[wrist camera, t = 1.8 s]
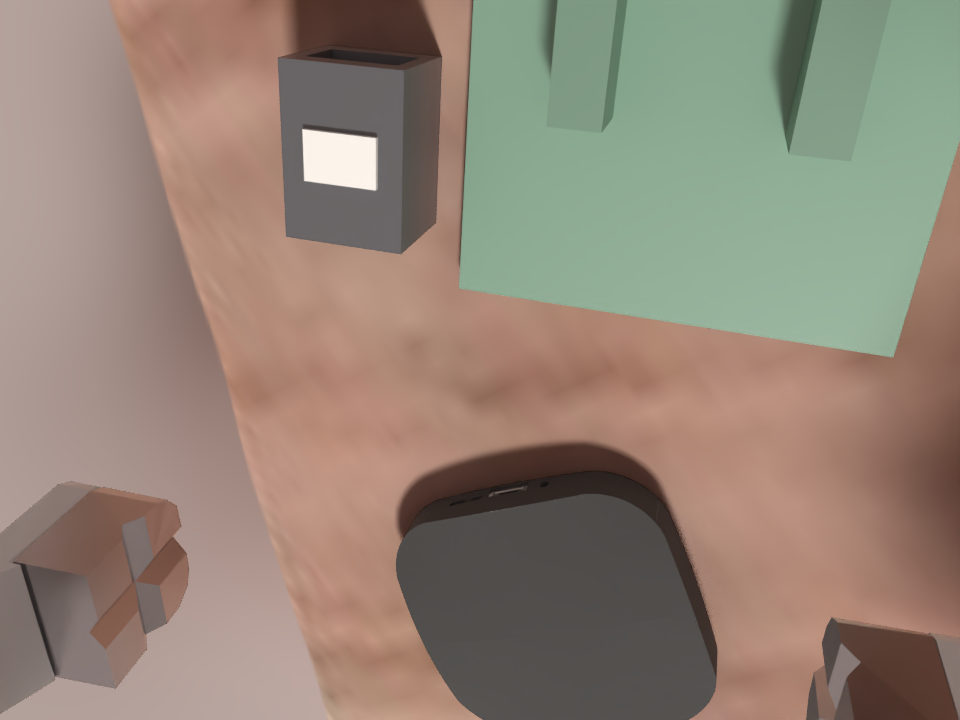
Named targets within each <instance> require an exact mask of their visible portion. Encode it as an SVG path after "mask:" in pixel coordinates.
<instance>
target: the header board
mask: <svg viewBox="0 0 960 720" xmlns="http://www.w3.org/2000/svg"><path fill="white" fill-rule="evenodd" d="M959 141H960V0H473V18H472V38H471V58H470V78H469V98H468V118H467V138H466V158H465V178H464V199H463V219H462V239H461V259H460V279H459V288H460V289H466V290H472V291H478V292H485V293H491V294H497V295H504V296H510V297H516V298H522V299H529V300H535V301H541V302H548V303H554V304H560V305H566V306H573V307H579V308H585V309H592V310H598V311H604V312H611V313H617V314H623V315H629V316H636V317H642V318H648V319H655V320H661V321H667V322H673V323H680V324H686V325H692V326H699V327H705V328H711V329H717V330H724V331H730V332H736V333H743V334H749V335H755V336H761V337H768V338H774V339H780V340H787V341H793V342H799V343H806V344H812V345H818V346H824V347H831V348H837V349H843V350H850V351H856V352H862V353H868V354H875V355H881V356H887V357H894V353H895V350H896V347H897V343H898V340H899V337H900V334H901V330H902V327H903V324H904V321H905V317H906V314H907V311H908V308H909V304H910V301H911V298H912V294H913V291H914V288H915V285H916V281H917V278H918V275H919V272H920V268H921V265H922V262H923V259H924V255H925V252H926V249H927V246H928V242H929V239H930V236H931V232H932V229H933V226H934V223H935V219H936V216H937V213H938V210H939V206H940V203H941V200H942V197H943V193H944V190H945V187H946V184H947V180H948V177H949V174H950V170H951V167H952V164H953V161H954V157H955V154H956V151H957V148H958V144H959Z"/></svg>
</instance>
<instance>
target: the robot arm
mask: <svg viewBox="0 0 960 720" xmlns="http://www.w3.org/2000/svg"><path fill="white" fill-rule="evenodd" d="M180 527H181V522H180V518H179V514H178V509H177V506H176V505H175V504H173V503H171V502H169V501H168V500H165V499H160V498H154V497H150V496H145V495H140V494H135V493H130V492H125V491H120V490H116V489H111V488H106V487H102V488H101V487H97V486H92V485H87V484H82V483H78V482H73V481H70V482H66V483H61V484H58V485H57V486H56V487H54V488H53V489H52V490H51V491H50V492H48V493H47V494H46V495H45V496H44V497H43V498H41V499H40V500H39V501H38V502H37V503H35V504H34V505H33V506H32V507H31V508H29V509H28V510H27V511H26V512H25V513H24V514H22V515H21V516H20V517H19V518H18V519H17V520H15V521H14V522H13V523H12V524H11V525H10V526H8V527H7V528H6V529H5V530H4V531H2V532H1V533H0V714H1V713H3V712H4V711H6V710H8V709H9V708H11V707H12V706H14V705H16V704H17V703H19V702H21V701H22V700H24V699H25V698H27V697H29V696H30V695H32V694H34V693H35V692H36V691H38V690H40V689H42V688H43V687H45V686H47V685H48V684H50V683H51V682H53V681H54V680H55V677H59V678H64V679H69V680H74V681H80V682H84V683H90V684H95V685H100V686H105V687H110V688H117V686H118V685H119V684H120V682H121V681H122V680H123V679H124V677H125V676H126V675H127V674H128V672H129V671H130V670H131V668H132V667H133V666H134V665H135V664H136V662H137V661H138V660H139V658H140V657H141V656H142V655H143V653H144V652H145V651H146V650H147V638H146V634H147V633H149V632H151V631H153V630H155V629H157V628H159V627H161V626H163V625H165V624H167V623H168V621H169V620H170V619H171V617H172V616H173V615H174V613H175V612H176V611H177V609H178V608H179V607H180V604H181V602H182V599H183V596H184V593H185V591H186V588H187V586H188V575H189V565H188V559H187V554H186V552H185V551H184V549H183V548H182V547H181V546H180V545H179V543H178V542H177V541H176V540H175V539H174V536H175V535H176V533H177V532H178V530H179V529H180ZM822 647H823V655H824V663H825V666H823V667H822V668H820V669H818V670H817V671H815V672H814V675H813V679H812V684H811V688H810V692H809V699H808V708H807V717H806V720H960V638H958V637H952V636H946V635H939V634H933V633H929V634H926V633H922V632H916V631H910V630H904V629H898V628H892V627H887V626H881V625H875V624H869V623H863V622H857V621H851V620H845V619H839V618H833V617H832V618H831V620H830V621H829V623H828V625H827V627H826V631H825V634H824V638H823V641H822Z"/></svg>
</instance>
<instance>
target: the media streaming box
mask: <svg viewBox="0 0 960 720" xmlns="http://www.w3.org/2000/svg"><path fill="white" fill-rule="evenodd" d="M396 572H397V578H398V581H399V584H400V587H401V590H402V593H403V596H404V599H405V601H406V604H407V607H408V609H409V612H410V614H411V617H412V619H413V622H414V624H415V626H416V628H417V631H418V633H419V635H420V637H421V639H422V641H423V643H424V645H425V648H426V649H427V651H428V653H429V655H430V657H431V659H432V661H433V662H434V664H435V666H436V668H437V670H438V671H439V673H440V674H441V676H442V678H443V679H444V681H445V682H446V684H447V685H448V687H449V688H450V690H451V691H452V693H453V694H454V696H455V697H456V698H457V700H458V701H459V702H460V703H461V704H462V705H463V706H465V707H466V708H467V709H468V710H469V711H471V712H472V713H474V714H475V715H476V716H478V717H480V718H481V719H483V720H689V719H690V718H692V717H694V716H695V715H697V714H698V713H699V712H700V711H701V710H703V709H704V708H705V706H706V705H707V704H708V703H709V701H710V700H711V698H712V696H713V694H714V692H715V688H716V676H717V646H716V642H715V639H714V635H713V632H712V628H711V625H710V621H709V618H708V615H707V612H706V609H705V605H704V602H703V599H702V596H701V593H700V590H699V588H698V585H697V582H696V579H695V576H694V573H693V571H692V568H691V565H690V563H689V560H688V558H687V555H686V552H685V550H684V547H683V545H682V542H681V540H680V538H679V535H678V533H677V530H676V528H675V526H674V523H673V521H672V519H671V517H670V514H669V512H668V510H667V509H666V507H665V506H664V505H663V503H662V502H661V501H660V500H659V499H658V498H657V497H656V496H655V495H654V494H653V493H651V492H650V491H649V490H648V489H646V488H645V487H643V486H642V485H640V484H638V483H637V482H635V481H633V480H630V479H628V478H626V477H623V476H620V475H616V474H612V473H607V472H600V471H588V472H581V473H573V474H566V475H559V476H553V477H546V478H540V479H534V480H529V481H523V482H517V483H512V484H507V485H502V486H497V487H492V488H487V489H483V490H478V491H474V492H469V493H465V494H461V495H457V496H453V497H449V498H445V499H441V500H437V501H435V502H433V503H431V504H429V505H428V506H426V507H425V508H424V509H423V510H422V511H421V512H420V513H419V514H418V515H417V516H416V518H415V519H414V521H413V523H412V525H411V526H410V528H409V530H408V532H407V533H406V535H405V537H404V538H403V540H402V542H401V544H400V546H399V549H398V553H397V558H396Z"/></svg>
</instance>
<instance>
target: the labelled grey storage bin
mask: <svg viewBox="0 0 960 720" xmlns="http://www.w3.org/2000/svg"><path fill="white" fill-rule="evenodd" d="M441 71H442V57H441V56H431V55H421V54H411V53H401V52H391V51H381V50H371V49H360V48H350V47H340V46H330V45H328V46H324V47H319V48H315V49H311V50H307V51H303V52H299V53H295V54H290V55H286V56H282V57H278V73H279V94H280V116H281V137H282V159H283V180H284V202H285V223H286V237H291V238H298V239H304V240H311V241H318V242H324V243H331V244H337V245H344V246H350V247H357V248H363V249H370V250H377V251H383V252H390V253H396V254H402V253H403V252H404V251H405V250H406V249H407V248H408V247H409V246H411V245H412V244H413V243H414V242H415V241H416V240H417V239H418V238H420V237H421V236H422V235H423V234H424V233H425V232H426V231H427V230H428V229H430V228H431V227H432V226H433V225H434V224H435V223H436V211H437V183H438V155H439V127H440V99H441Z"/></svg>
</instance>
